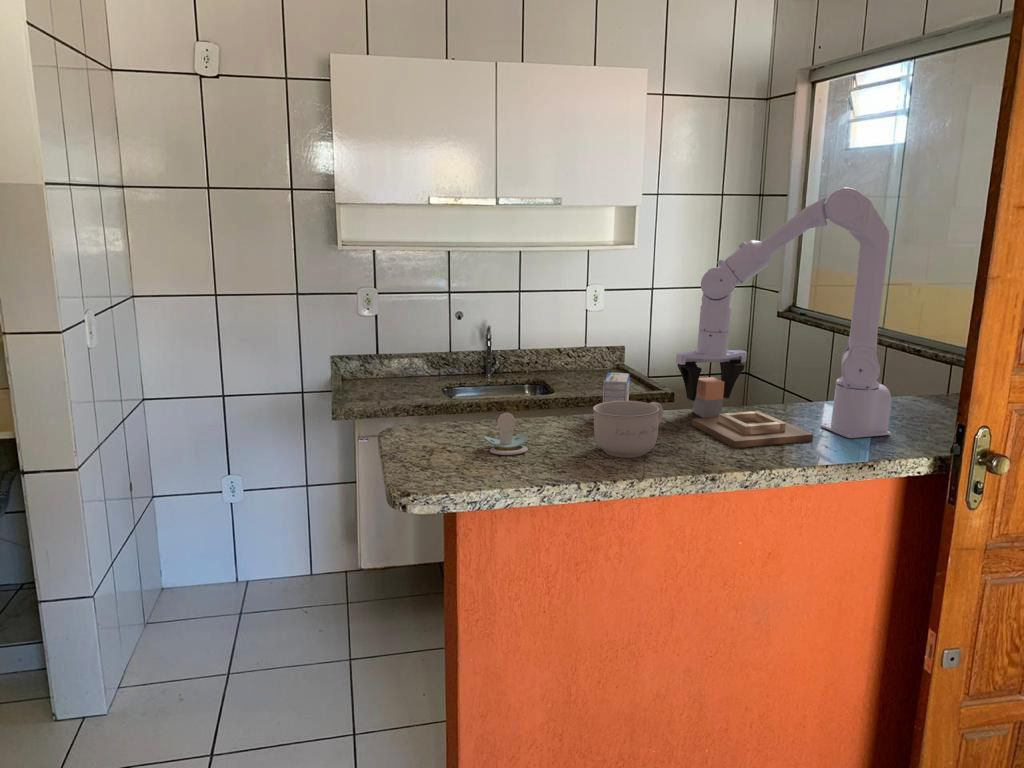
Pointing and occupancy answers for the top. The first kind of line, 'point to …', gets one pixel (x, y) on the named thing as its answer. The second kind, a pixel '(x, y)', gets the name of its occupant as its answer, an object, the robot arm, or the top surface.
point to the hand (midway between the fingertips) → (708, 398)
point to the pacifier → (507, 438)
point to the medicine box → (616, 387)
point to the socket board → (751, 429)
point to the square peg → (709, 397)
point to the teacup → (626, 427)
